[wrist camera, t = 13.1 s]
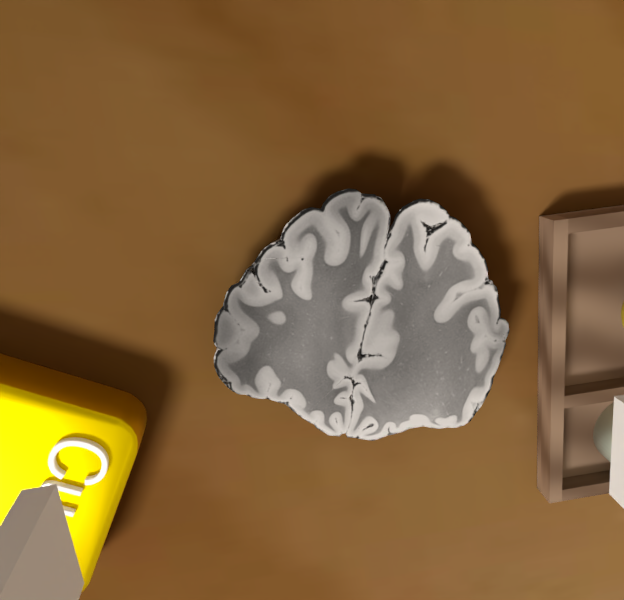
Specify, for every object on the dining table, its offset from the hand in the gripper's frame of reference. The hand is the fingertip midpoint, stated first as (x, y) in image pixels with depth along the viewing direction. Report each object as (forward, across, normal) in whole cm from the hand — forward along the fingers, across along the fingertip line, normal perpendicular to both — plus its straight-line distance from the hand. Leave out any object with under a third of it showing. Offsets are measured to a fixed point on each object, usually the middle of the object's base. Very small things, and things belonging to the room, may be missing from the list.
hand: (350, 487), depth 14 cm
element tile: (+27, -20, -12) cm, 36 cm away
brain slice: (+27, +5, -5) cm, 28 cm away
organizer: (+27, +25, -11) cm, 38 cm away
